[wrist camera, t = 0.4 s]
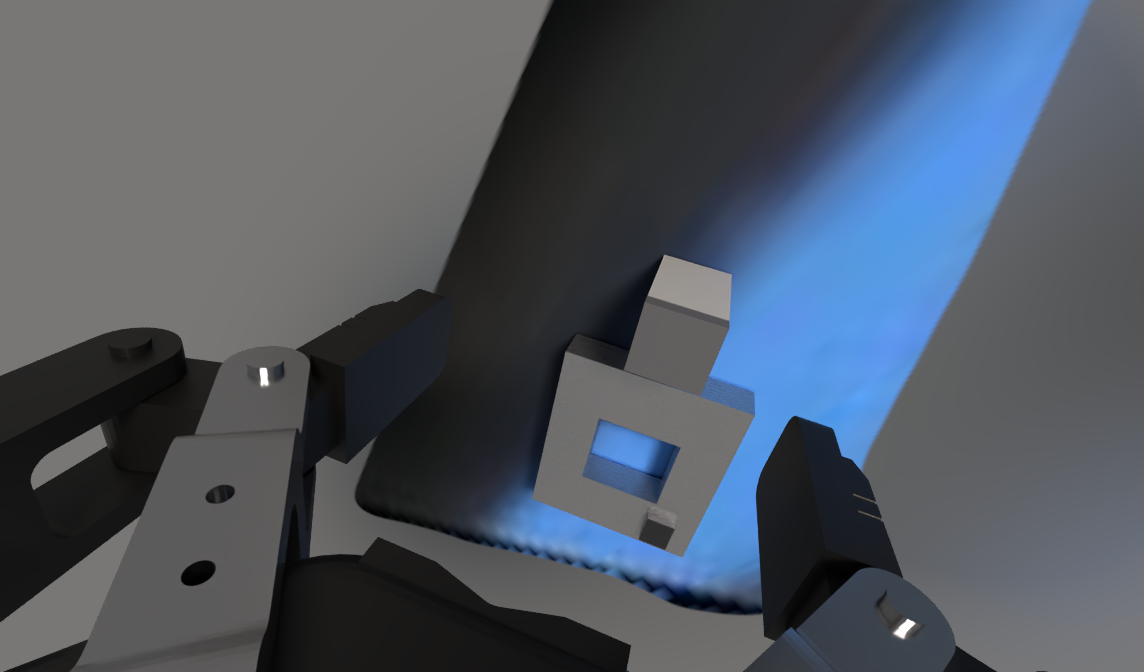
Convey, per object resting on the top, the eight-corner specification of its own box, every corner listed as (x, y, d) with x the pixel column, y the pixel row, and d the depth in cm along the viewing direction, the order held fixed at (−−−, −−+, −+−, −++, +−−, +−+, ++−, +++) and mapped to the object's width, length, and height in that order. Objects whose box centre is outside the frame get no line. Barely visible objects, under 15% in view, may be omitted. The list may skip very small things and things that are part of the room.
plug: (664, 254, 29) (644, 302, 23) (731, 274, 28) (728, 328, 23) (646, 312, 31) (623, 370, 25) (708, 332, 30) (700, 395, 25)
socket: (576, 333, 33) (562, 356, 31) (754, 392, 31) (755, 422, 29) (543, 476, 40) (529, 505, 38) (685, 530, 39) (681, 565, 36)
